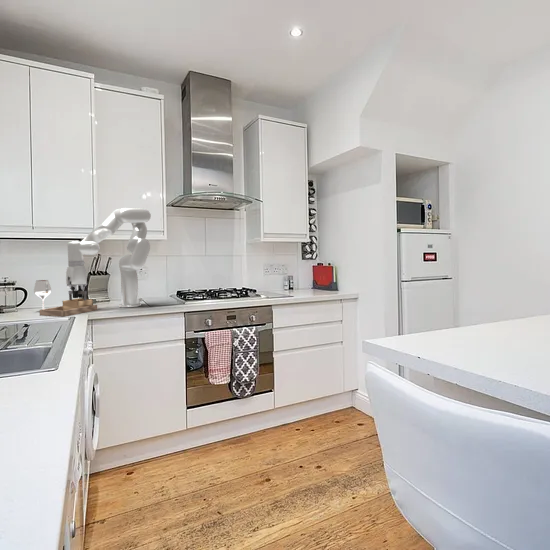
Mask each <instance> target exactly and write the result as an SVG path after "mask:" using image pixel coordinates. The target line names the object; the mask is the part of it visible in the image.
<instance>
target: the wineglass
mask: <svg viewBox="0 0 550 550" xmlns="http://www.w3.org/2000/svg"><path fill="white" fill-rule="evenodd" d="M33 293H34V295H35V296H37V297H38V298H39V299H41V300H42V301H41V302H42V303H41V304H42V309H45V299H46V298H47V297H48V296H50V294H51V293H52V288H51V285H50V281H49V279H44V280H43V279H39V280H36V281H35V283H34V287H33Z"/></svg>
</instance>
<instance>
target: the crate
mask: <svg viewBox="0 0 550 550" xmlns="http://www.w3.org/2000/svg"><path fill="white" fill-rule="evenodd" d="M67 291H68V298H69V299H66V300H62V306H63V311H65V310H70V309H76V308H81V307H87V306H92V305H94V299H93V298H87V294H88V293H87V292H88V291H87V290H83V291H78V294H83V298H73V292H72V291H71V290H67Z"/></svg>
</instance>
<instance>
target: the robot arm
mask: <svg viewBox="0 0 550 550" xmlns="http://www.w3.org/2000/svg"><path fill="white" fill-rule="evenodd" d="M151 214H152V213H150V210H148V209H147V208H144V207H143V208H142V207H141V208H139V207H138V208H136V207H135V208H134V207H133V208H132V207H130V208H129V207H122V208H117V209H114V210H113V211H112V212H111V213H110V214H109V215H108V216H107V217H106V218H105V220H103V222H102V223H100V224H99V225H98V226H97V227H96V228H95V229H93V230H92V231H91V232H89V233H88V234H87V235H86V236H85V237H84V238H83V239H82V240H81V241H69V242H68V243H67V262H68V263H67V264H68V266H67V267H66V272H65V273H66V274H65V284H66V288H68V289H70V291H72V292H73V294H72V299H79V298H84V294H78V291H84V288H85V287H86V286H87V285H88V281H87V272H86V267H85V264H86V263H85V261H84V260H85V259H84V255H86V256H89V255H90V256H91V255H92V256H94V255H97V254H98V253H99V252H100V249H101V248H100V247H101V246H100V244H99V243H101V242H102V241H104V240H106V239H108V238H110V237H112V236H113V235H114V234H115V233H116V232H117V231H118V230H119V229H120V228H121V226H122V225H123V224H127V223H130V224H131V225H132V231H131V234H130V237H129V238H128V242H127V246H126V249H127V252H128V253H130V254H124V255H122V256H121V257H119V260H118V268H119V271H120V272H119V273H120V286H121V288H120V289H121V292H120V293H121V304H119V305H118V307H119V308H136V307H141V306H142V303H140V302H143V301H144V299H143V298H142V297H141V298H139V283H138V281H139V279H138V272H137V271H140V270H142V269H143V268H144V266H145V264H146V262H147V259H148V256H149V253H150V250H151V244H150V242H149V240H148V239H146V237H147V234H148V228H147V224H146V223H147V222H149V221H150V219H151V216H152V215H151Z"/></svg>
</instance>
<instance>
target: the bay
mask: <svg viewBox="0 0 550 550" xmlns="http://www.w3.org/2000/svg"><path fill="white" fill-rule="evenodd" d="M94 311H98V305H97V304H93V305H92V306H87V307H81V308H76V309H70V310H65V311H63V305H61V306H56V307H49V308H44V309H43V308H42V309H39V316H44V317H45V316H46V317H60V318H64V317H69V316H75V315H81V314H85V313H90V312H94Z"/></svg>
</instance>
